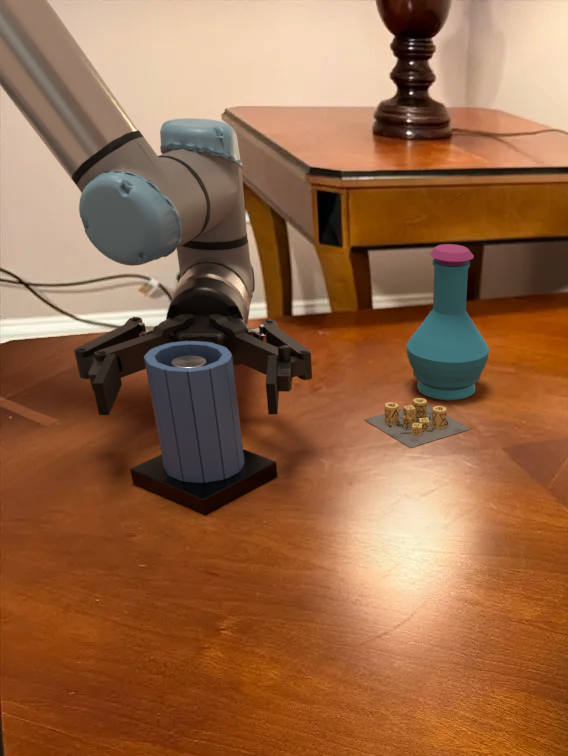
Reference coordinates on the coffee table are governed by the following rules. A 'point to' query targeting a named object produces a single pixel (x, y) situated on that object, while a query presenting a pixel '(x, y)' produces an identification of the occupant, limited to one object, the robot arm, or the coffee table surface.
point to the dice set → (416, 422)
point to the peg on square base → (204, 494)
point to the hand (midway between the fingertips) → (187, 399)
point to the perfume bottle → (448, 332)
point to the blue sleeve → (196, 412)
